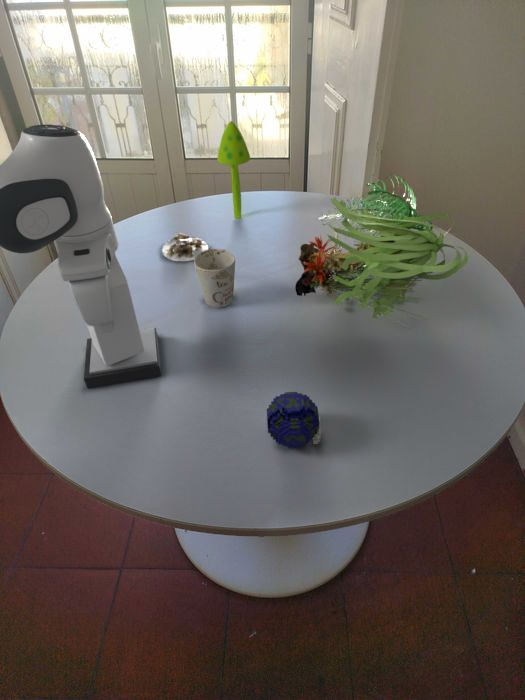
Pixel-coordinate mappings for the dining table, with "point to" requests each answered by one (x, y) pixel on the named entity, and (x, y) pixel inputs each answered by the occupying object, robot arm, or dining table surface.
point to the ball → (293, 420)
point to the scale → (124, 363)
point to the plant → (377, 253)
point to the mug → (216, 276)
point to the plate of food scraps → (183, 248)
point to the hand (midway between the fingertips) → (109, 312)
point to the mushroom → (233, 160)
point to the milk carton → (118, 322)
